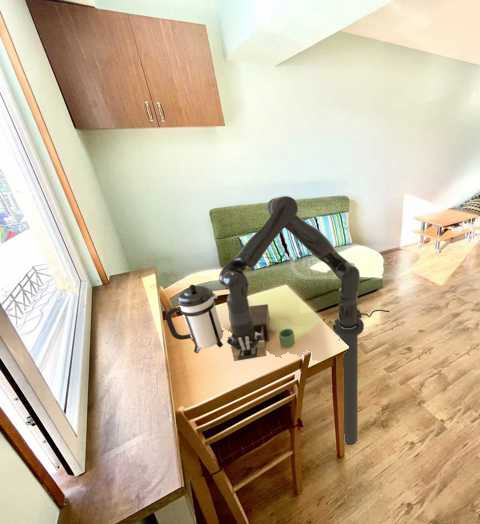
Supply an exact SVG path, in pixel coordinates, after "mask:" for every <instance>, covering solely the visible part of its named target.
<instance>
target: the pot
mask: <svg viewBox="0 0 480 524" xmlns="http://www.w3.org/2000/svg"><path fill="white" fill-rule="evenodd" d="M278 337H279V345H280V347H282V348H284V349H287V348H291V347H293V346H294V345H295V343H296V341H295V340H296V339H295V331H294V330H293V329H292V328H284V329H281V330H280V331H279V332H278Z"/></svg>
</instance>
